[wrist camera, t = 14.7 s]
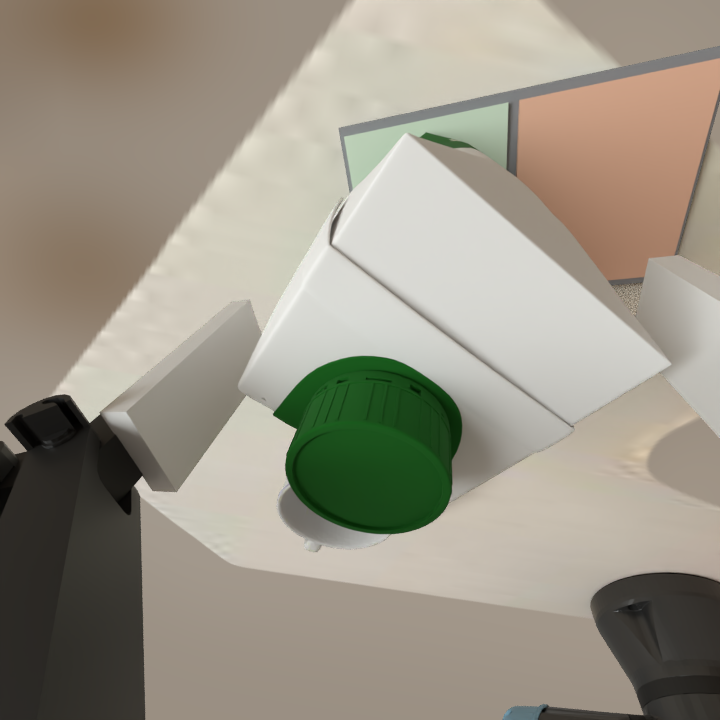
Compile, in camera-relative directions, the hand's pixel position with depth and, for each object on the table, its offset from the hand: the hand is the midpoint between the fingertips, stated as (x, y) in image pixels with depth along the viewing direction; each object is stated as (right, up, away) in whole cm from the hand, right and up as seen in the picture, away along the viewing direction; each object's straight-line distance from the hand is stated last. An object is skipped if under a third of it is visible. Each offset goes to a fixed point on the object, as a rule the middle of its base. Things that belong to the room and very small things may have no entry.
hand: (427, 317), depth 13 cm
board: (+7, +9, +11) cm, 16 cm away
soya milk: (+2, +8, +11) cm, 14 cm away
